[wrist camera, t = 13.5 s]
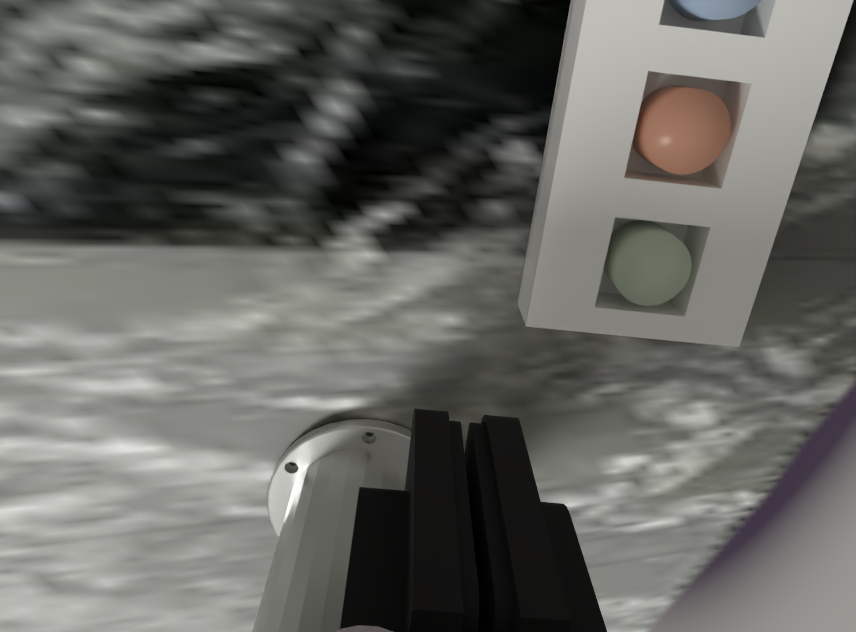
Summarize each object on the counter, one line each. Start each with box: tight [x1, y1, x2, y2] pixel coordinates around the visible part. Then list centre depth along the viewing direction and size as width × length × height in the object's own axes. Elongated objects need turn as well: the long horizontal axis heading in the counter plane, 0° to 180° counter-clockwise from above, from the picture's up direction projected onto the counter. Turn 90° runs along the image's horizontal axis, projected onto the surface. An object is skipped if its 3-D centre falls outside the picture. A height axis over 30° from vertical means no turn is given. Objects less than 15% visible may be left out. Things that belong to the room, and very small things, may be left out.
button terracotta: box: [632, 85, 731, 175], centre depth 32 cm, size 4×4×3 cm
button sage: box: [603, 220, 692, 306], centre depth 35 cm, size 4×4×3 cm
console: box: [517, 0, 853, 347], centre depth 33 cm, size 22×12×3 cm, turn 174°
